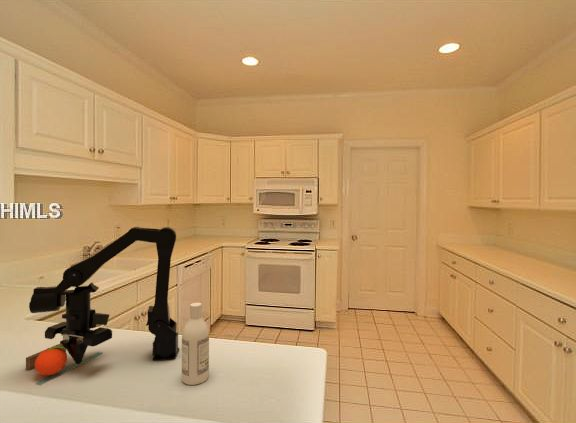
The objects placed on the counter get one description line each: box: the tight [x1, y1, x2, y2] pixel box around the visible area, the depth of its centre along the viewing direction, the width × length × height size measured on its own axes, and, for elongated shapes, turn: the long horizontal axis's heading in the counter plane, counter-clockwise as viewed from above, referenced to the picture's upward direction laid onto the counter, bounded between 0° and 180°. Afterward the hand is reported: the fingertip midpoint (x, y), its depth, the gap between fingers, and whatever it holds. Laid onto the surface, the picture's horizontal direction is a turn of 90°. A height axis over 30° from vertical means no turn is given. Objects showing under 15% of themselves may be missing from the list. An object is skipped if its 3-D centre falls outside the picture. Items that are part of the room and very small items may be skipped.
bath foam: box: [181, 302, 210, 386], centre depth 80 cm, size 7×7×20 cm
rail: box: [25, 343, 67, 371], centre depth 88 cm, size 2×10×4 cm, turn 163°
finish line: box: [34, 351, 103, 386], centre depth 85 cm, size 2×18×1 cm, turn 163°
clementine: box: [35, 346, 68, 377], centre depth 81 cm, size 8×7×7 cm
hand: (78, 363), depth 84 cm, fingers closed
